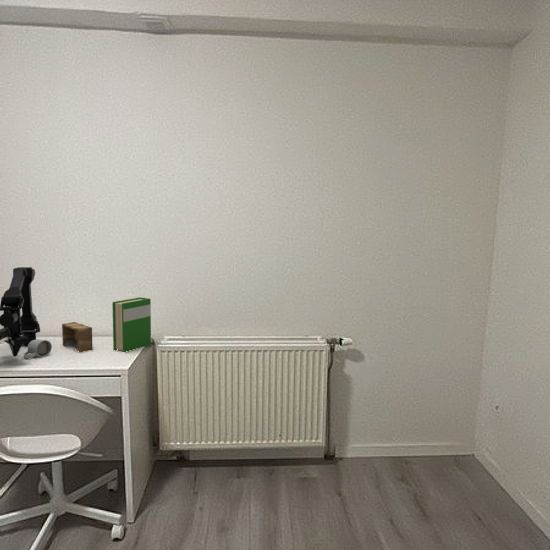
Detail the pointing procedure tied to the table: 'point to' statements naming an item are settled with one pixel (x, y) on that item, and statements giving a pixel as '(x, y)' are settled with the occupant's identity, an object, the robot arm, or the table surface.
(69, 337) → the wooden storage tray
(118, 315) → the hardback book
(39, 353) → the ceramic mug
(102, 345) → the table surface
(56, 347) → the table surface
